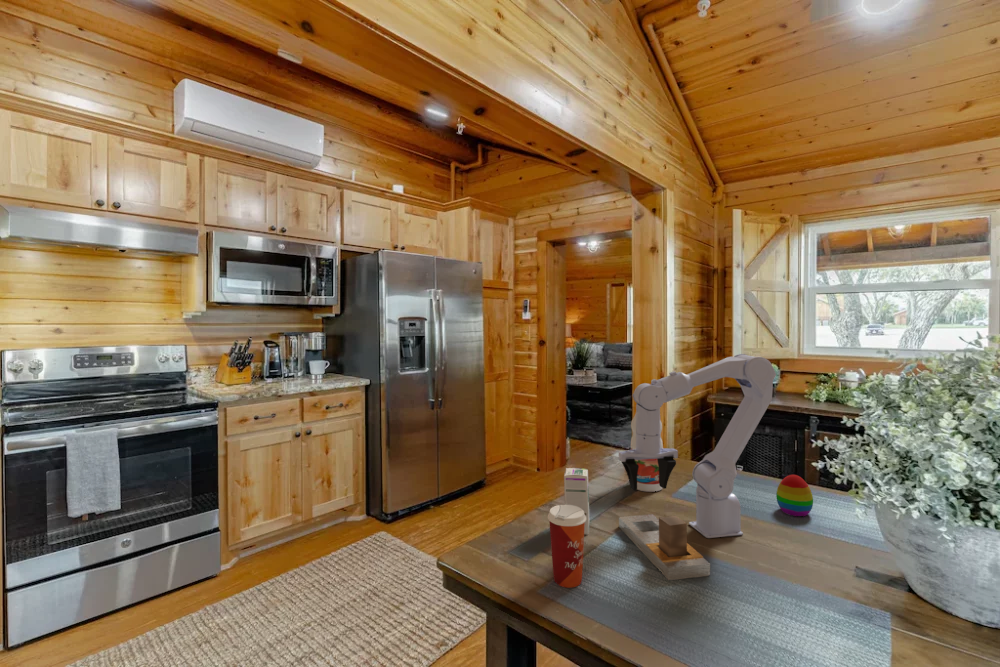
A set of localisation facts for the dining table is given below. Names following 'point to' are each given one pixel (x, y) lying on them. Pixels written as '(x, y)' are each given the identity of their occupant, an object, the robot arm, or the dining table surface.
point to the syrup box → (577, 491)
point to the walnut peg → (673, 536)
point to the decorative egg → (794, 496)
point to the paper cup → (567, 544)
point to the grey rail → (649, 546)
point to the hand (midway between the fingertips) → (648, 488)
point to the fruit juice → (646, 466)
